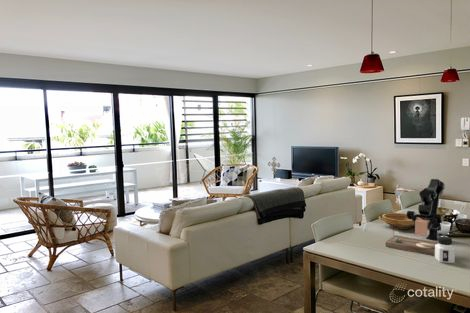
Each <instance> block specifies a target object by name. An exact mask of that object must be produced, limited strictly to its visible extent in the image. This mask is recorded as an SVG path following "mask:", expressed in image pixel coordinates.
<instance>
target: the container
mask: <svg viewBox="0 0 470 313" xmlns="http://www.w3.org/2000/svg"><path fill="white" fill-rule="evenodd" d="M437 237H438V240H437V242H438V244H435V256H434V258H435V259H436V261H438V263H447V264H448V263H451V264H455V262H456V261H455V260H456V249H455V248H454V247H453V245H452V244H453V239H452V238H451V237H449V236H448V235H447V236H446V235H442V236H437Z"/></svg>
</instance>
